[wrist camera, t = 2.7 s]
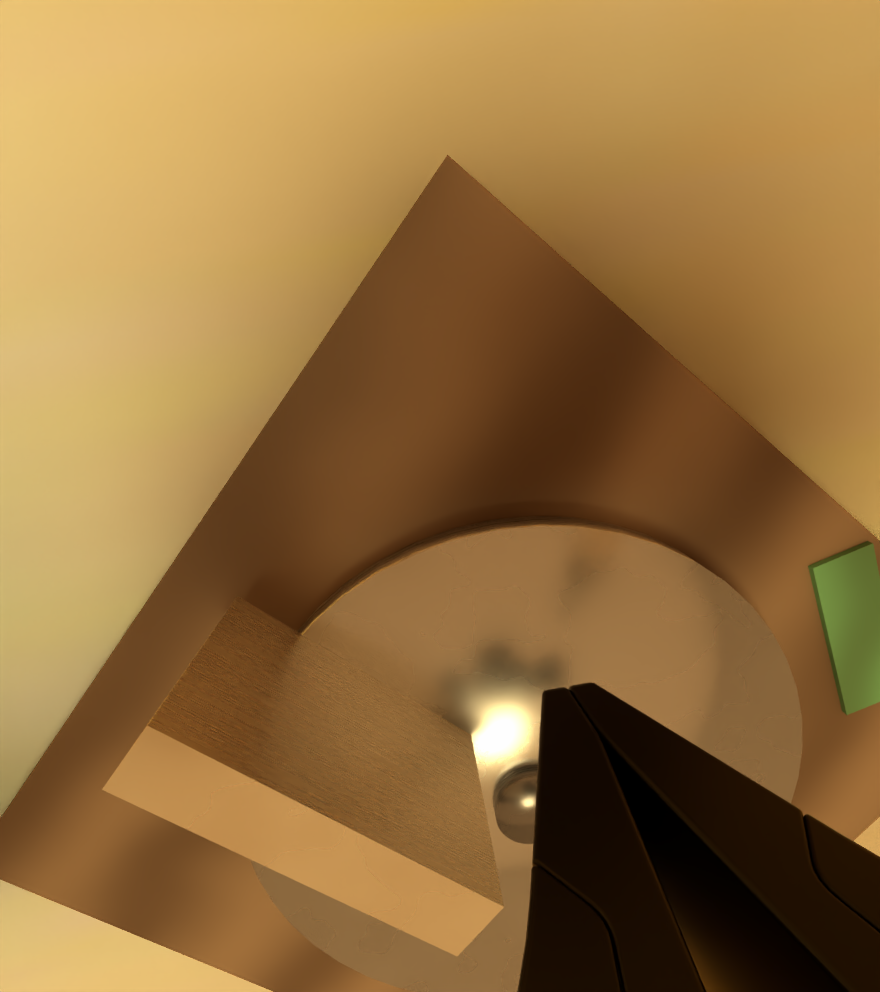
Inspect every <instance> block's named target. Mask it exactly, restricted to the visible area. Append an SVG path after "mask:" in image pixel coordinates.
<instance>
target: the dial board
mask: <svg viewBox="0 0 880 992" xmlns="http://www.w3.org/2000/svg"><path fill="white" fill-rule="evenodd" d="M527 516H549V517H574V518H580V519H586V520H592V521H598V522H604V523H610V524H613V525H617V526H620V527H623V528H626V529H630V530H633V531H636V532H639V533H643V534H646V535H648V536H650V537H652V538H654V539H656V540H658V541H661V542H663V543H665V544H667V545H669V546H671V547H673V548H675V549H677V550H679V551H680V552H682V553H683V554H685V555H686V556H688V557H690V558H691V559H693V560H694V561H696V562H697V563H699V564H700V565H702V566H703V567H705V568H706V569H708V570H709V571H711V572H712V573H713V574H715V575H716V576H718V577H719V578H721V579H722V580H724V581H725V582H727V583H728V584H729V585H730V586H731V587H732V588H733V589H734V590H735V591H736V592H737V593H739V594H740V595H741V596H742V597H743V598H744V599H745V600H746V601H747V602H748V603H749V604H751V606H752V607H753V608H754V609H755V611H756V612H757V613H758V614H759V616H760V617H761V618H762V620H763V621H764V622H765V623H766V625H767V626H768V627H769V628H770V630H771V631H772V633H773V635H774V637H775V638H776V640H777V642H778V644H779V646H780V647H781V649H782V651H783V653H784V655H785V657H786V658H787V661H788V664H789V667H790V670H791V673H792V675H793V678H794V681H795V684H796V687H797V692H798V698H799V703H800V709H801V715H802V755H801V762H800V770H799V777H798V781H797V784H796V788H795V791H794V795H793V798H792V802H791V804H792V805H794V806H796V807H797V808H799V809H800V810H801V811H802V812H803V816H804V815H805V814H809V815H811V816H812V817H814V818H816V819H817V820H819V821H821V822H822V823H824V824H825V825H827V826H829V827H830V828H832V829H834V830H835V831H837V832H838V833H840V834H842V835H843V836H845V837H847V838H849V839H850V840H852V841H854V840H855V839H856V838H857V837H858V836H859V835H860V834H861V833H862V832H863V831H865V830H866V829H867V828H868V827H869V826H870V825H871V824H872V823H873V822H874V821H875V820H876V819H877V818H879V817H880V541H879V540H878V539H877V538H876V537H875V536H874V535H873V534H871V533H870V532H869V531H868V530H867V529H866V528H865V527H864V526H862V525H861V524H860V523H859V522H858V521H857V520H856V519H855V518H853V517H852V516H851V515H850V514H849V513H848V512H847V511H846V510H845V509H843V508H842V507H841V506H840V505H839V504H838V503H837V502H836V501H834V500H833V499H832V498H831V497H830V496H829V495H828V494H827V493H825V492H824V491H823V490H822V489H821V488H820V487H819V486H818V485H817V484H815V483H814V482H813V481H812V480H811V479H810V478H809V477H808V476H806V475H805V474H804V473H803V472H802V471H801V470H800V469H799V468H797V467H796V466H795V465H794V464H793V463H792V462H791V461H790V460H789V459H787V458H786V457H785V456H784V455H783V454H782V453H781V452H780V451H778V450H777V449H776V448H775V447H774V446H773V445H772V444H771V443H769V442H768V441H767V440H766V439H765V438H764V437H763V436H762V435H761V434H759V433H758V432H757V431H756V430H755V429H754V428H753V427H752V426H750V425H749V424H748V423H747V422H746V421H745V420H744V419H743V418H741V417H740V416H739V415H738V414H737V413H736V412H735V411H734V410H733V409H731V408H730V407H729V406H728V405H727V404H726V403H725V402H724V401H722V400H721V399H720V398H719V397H718V396H717V395H716V394H715V393H713V392H712V391H711V390H710V389H709V388H708V387H707V386H706V385H705V384H703V383H702V382H701V381H700V380H699V379H698V378H697V377H696V376H694V375H693V374H692V373H691V372H690V371H689V370H688V369H687V368H685V367H684V366H683V365H682V364H681V363H680V362H679V361H678V360H677V359H675V358H674V357H673V356H672V355H671V354H670V353H669V352H668V351H666V350H665V349H664V348H663V347H662V346H661V345H660V344H659V343H657V342H656V341H655V340H654V339H653V338H652V337H651V336H650V335H649V334H647V333H646V332H645V331H644V330H643V329H642V328H641V327H640V326H638V325H637V324H636V323H635V322H634V321H633V320H632V319H631V318H629V317H628V316H627V315H626V314H625V313H624V312H623V311H622V310H621V309H619V308H618V307H617V306H616V305H615V304H614V303H613V302H612V301H610V300H609V299H608V298H607V297H606V296H605V295H604V294H603V293H601V292H600V291H599V290H598V289H597V288H596V287H595V286H594V285H593V284H591V283H590V282H589V281H588V280H587V279H586V278H585V277H584V276H582V275H581V274H580V273H579V272H578V271H577V270H576V269H575V268H574V267H572V266H571V265H570V264H569V263H568V262H567V261H566V260H565V259H563V258H562V257H561V256H560V255H559V254H558V253H557V252H556V251H554V250H553V249H552V248H551V247H550V246H549V245H548V244H547V243H546V242H544V241H543V240H542V239H541V238H540V237H539V236H538V235H537V234H535V233H534V232H533V231H532V230H531V229H530V228H529V227H528V226H526V225H525V224H524V223H523V222H522V221H521V220H520V219H519V218H518V217H516V216H515V215H514V214H513V213H512V212H511V211H510V210H509V209H507V208H506V207H505V206H504V205H503V204H502V203H501V202H500V201H498V200H497V199H496V198H495V197H494V196H493V195H492V194H491V193H490V192H488V191H487V190H486V189H485V188H484V187H483V186H482V185H481V184H479V183H478V182H477V181H476V180H475V179H474V178H473V177H472V176H470V175H469V174H468V173H467V172H466V171H465V170H464V169H463V168H462V167H460V166H459V165H458V164H457V163H456V162H455V161H454V160H453V159H451V158H450V157H449V156H448V155H447V157H446V158H445V160H444V161H443V163H442V164H441V166H440V167H439V169H438V170H437V172H436V173H435V174H434V176H433V177H432V179H431V180H430V182H429V183H428V185H427V186H426V188H425V189H424V191H423V192H422V194H421V195H420V197H419V198H418V200H417V201H416V203H415V204H414V206H413V207H412V209H411V210H410V212H409V213H408V215H407V216H406V218H405V219H404V220H403V222H402V223H401V225H400V226H399V228H398V229H397V231H396V232H395V234H394V235H393V237H392V238H391V240H390V241H389V243H388V244H387V246H386V247H385V249H384V250H383V252H382V253H381V255H380V256H379V258H378V259H377V261H376V262H375V264H374V265H373V266H372V268H371V269H370V271H369V272H368V274H367V275H366V277H365V278H364V280H363V281H362V283H361V284H360V286H359V287H358V289H357V290H356V292H355V293H354V295H353V296H352V298H351V299H350V301H349V302H348V304H347V305H346V307H345V308H344V310H343V311H342V313H341V314H340V315H339V317H338V318H337V320H336V321H335V323H334V324H333V326H332V327H331V329H330V330H329V332H328V333H327V335H326V336H325V338H324V339H323V341H322V342H321V344H320V345H319V347H318V348H317V350H316V351H315V353H314V354H313V356H312V357H311V359H310V360H309V361H308V363H307V364H306V366H305V367H304V369H303V370H302V372H301V373H300V375H299V376H298V378H297V379H296V381H295V382H294V384H293V385H292V387H291V388H290V390H289V391H288V393H287V394H286V396H285V397H284V399H283V400H282V402H281V403H280V405H279V406H278V407H277V409H276V410H275V412H274V413H273V415H272V416H271V418H270V419H269V421H268V422H267V424H266V425H265V427H264V428H263V430H262V431H261V433H260V434H259V436H258V437H257V439H256V440H255V442H254V443H253V445H252V446H251V448H250V449H249V451H248V452H247V453H246V455H245V456H244V458H243V459H242V461H241V462H240V464H239V465H238V467H237V468H236V470H235V471H234V473H233V474H232V476H231V477H230V479H229V480H228V482H227V483H226V485H225V486H224V488H223V489H222V491H221V492H220V494H219V495H218V497H217V498H216V500H215V501H214V502H213V504H212V505H211V507H210V508H209V510H208V511H207V513H206V514H205V516H204V517H203V519H202V520H201V522H200V523H199V525H198V526H197V528H196V529H195V531H194V532H193V534H192V535H191V537H190V538H189V540H188V541H187V543H186V544H185V546H184V547H183V548H182V550H181V551H180V553H179V554H178V556H177V557H176V559H175V560H174V562H173V563H172V565H171V566H170V568H169V569H168V571H167V572H166V574H165V575H164V577H163V578H162V580H161V581H160V583H159V584H158V586H157V587H156V589H155V590H154V592H153V593H152V594H151V596H150V597H149V599H148V600H147V602H146V603H145V605H144V606H143V608H142V609H141V611H140V612H139V614H138V615H137V617H136V618H135V620H134V621H133V623H132V624H131V626H130V627H129V629H128V630H127V632H126V633H125V635H124V636H123V638H122V639H121V641H120V642H119V643H118V645H117V646H116V648H115V649H114V651H113V652H112V654H111V655H110V657H109V658H108V660H107V661H106V663H105V664H104V666H103V667H102V669H101V670H100V672H99V673H98V675H97V676H96V678H95V679H94V681H93V682H92V684H91V685H90V687H89V688H88V689H87V691H86V692H85V694H84V695H83V697H82V698H81V700H80V701H79V703H78V704H77V706H76V707H75V709H74V710H73V712H72V713H71V715H70V716H69V718H68V719H67V721H66V722H65V724H64V725H63V727H62V728H61V730H60V731H59V733H58V734H57V735H56V737H55V738H54V740H53V741H52V743H51V744H50V746H49V747H48V749H47V750H46V752H45V753H44V755H43V756H42V758H41V759H40V761H39V762H38V764H37V765H36V767H35V768H34V770H33V771H32V773H31V774H30V776H29V777H28V779H27V780H26V782H25V783H24V784H23V786H22V787H21V789H20V790H19V792H18V793H17V795H16V796H15V798H14V799H13V801H12V802H11V804H10V805H9V807H8V808H7V810H6V811H5V813H4V814H3V816H2V817H1V819H0V879H1V880H3V881H6V882H8V883H10V884H13V885H15V886H18V887H20V888H23V889H25V890H27V891H30V892H32V893H35V894H37V895H40V896H42V897H45V898H47V899H49V900H52V901H54V902H57V903H59V904H62V905H64V906H66V907H69V908H71V909H74V910H76V911H79V912H81V913H84V914H86V915H88V916H91V917H93V918H96V919H98V920H101V921H103V922H105V923H108V924H110V925H113V926H115V927H118V928H120V929H122V930H125V931H127V932H130V933H132V934H135V935H137V936H140V937H142V938H144V939H147V940H149V941H152V942H154V943H157V944H159V945H161V946H164V947H166V948H169V949H171V950H174V951H176V952H179V953H181V954H183V955H186V956H188V957H191V958H193V959H196V960H198V961H200V962H203V963H205V964H208V965H210V966H213V967H215V968H217V969H220V970H222V971H225V972H227V973H230V974H232V975H235V976H237V977H239V978H242V979H244V980H247V981H249V982H252V983H254V984H256V985H259V986H261V987H264V988H266V989H269V990H271V991H273V992H414V991H410V990H406V989H402V988H398V987H394V986H392V985H389V984H386V983H383V982H381V981H378V980H375V979H373V978H370V977H367V976H365V975H363V974H361V973H359V972H357V971H355V970H353V969H351V968H349V967H348V966H346V965H344V964H342V963H340V962H338V961H337V960H335V959H334V958H332V957H331V956H329V955H328V954H326V953H325V952H323V951H322V950H320V949H319V948H318V947H316V946H315V945H313V944H312V943H311V942H310V941H309V940H308V939H307V938H306V937H305V936H303V935H302V934H301V933H300V932H299V931H298V930H297V929H296V928H294V927H293V926H292V925H291V924H290V922H289V921H288V920H287V919H286V918H285V916H284V915H283V914H282V913H281V912H280V910H279V909H278V908H277V907H276V906H275V904H274V903H273V902H272V900H271V899H270V897H269V895H268V894H267V892H266V890H265V889H264V887H263V885H262V884H261V882H260V880H259V879H258V877H257V875H256V873H255V870H254V868H253V865H252V863H251V860H250V859H248V858H246V857H244V856H242V855H240V854H238V853H236V852H234V851H231V850H229V849H227V848H225V847H223V846H221V845H219V844H216V843H214V842H212V841H210V840H208V839H206V838H204V837H202V836H199V835H197V834H195V833H193V832H191V831H189V830H187V829H185V828H182V827H180V826H178V825H176V824H174V823H172V822H170V821H168V820H165V819H163V818H161V817H159V816H157V815H155V814H153V813H150V812H148V811H146V810H144V809H142V808H140V807H138V806H136V805H133V804H131V803H129V802H127V801H125V800H123V799H121V798H119V797H116V796H114V795H112V794H110V793H108V792H106V791H104V790H102V789H103V787H104V786H105V784H106V783H107V782H108V780H109V779H110V777H111V776H112V774H113V773H114V772H115V770H116V769H117V767H118V766H119V764H120V763H121V762H122V760H123V759H124V757H125V756H126V754H127V753H128V751H129V750H130V749H131V747H132V746H133V744H134V743H135V741H136V740H137V739H138V737H139V736H140V734H141V733H142V731H143V730H144V729H145V727H146V726H147V724H148V723H149V721H150V720H151V718H152V717H153V716H154V714H155V713H156V711H157V710H158V708H159V707H160V706H161V704H162V703H163V701H164V700H165V698H166V697H167V696H168V694H169V693H170V691H171V690H172V688H173V687H174V686H175V684H176V683H177V681H178V680H179V678H180V677H181V675H182V674H183V673H184V671H185V670H186V668H187V667H188V665H189V664H190V663H191V661H192V660H193V658H194V657H195V655H196V654H197V653H198V651H199V650H200V648H201V647H202V645H203V644H204V642H205V641H206V640H207V638H208V637H209V635H210V634H211V633H212V631H213V630H214V628H215V627H216V626H217V624H218V623H219V621H220V620H221V619H222V617H223V616H224V614H225V613H226V611H227V610H228V609H229V607H230V606H231V604H232V603H233V602H234V600H235V599H236V597H237V596H238V597H239V598H241V599H243V600H244V601H246V602H248V603H249V604H251V605H253V606H254V607H256V608H258V609H259V610H261V611H263V612H265V613H266V614H268V615H270V616H271V617H273V618H275V619H276V620H278V621H280V622H281V623H283V624H285V625H286V626H288V627H290V628H292V629H293V630H295V631H298V630H299V628H300V627H301V626H302V625H303V624H304V623H305V622H306V620H307V619H308V618H309V617H310V616H311V615H312V613H313V612H314V611H315V610H316V609H317V608H318V607H319V606H320V605H321V604H322V603H323V602H325V601H326V600H327V599H328V598H329V597H330V596H331V595H332V594H334V593H335V592H336V591H337V590H338V589H339V588H340V587H342V586H343V585H344V584H345V583H346V582H348V581H349V580H351V579H352V578H354V577H355V576H357V575H358V574H359V573H361V572H362V571H364V570H365V569H367V568H368V567H370V566H371V565H373V564H374V563H376V562H377V561H379V560H381V559H383V558H385V557H387V556H389V555H391V554H393V553H395V552H397V551H399V550H400V549H402V548H404V547H406V546H408V545H410V544H412V543H414V542H417V541H420V540H423V539H425V538H428V537H431V536H434V535H437V534H439V533H442V532H445V531H448V530H451V529H454V528H458V527H463V526H467V525H472V524H476V523H481V522H485V521H489V520H496V519H506V518H517V517H527Z"/></svg>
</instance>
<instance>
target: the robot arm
mask: <svg viewBox="0 0 880 992" xmlns="http://www.w3.org/2000/svg"><path fill="white" fill-rule="evenodd" d="M517 992H880V857H879V856H877V855H876V854H874V853H872V852H871V851H869V850H867V849H866V848H864V847H862V846H860V845H859V844H857V843H855V842H854V841H852V840H850V839H849V838H847V837H845V836H843V835H842V834H840V833H838V832H837V831H835V830H834V829H832V828H830V827H829V826H827V825H825V824H824V823H822V822H821V821H819V820H817V819H816V818H814V817H812V816H811V815H809V814H805V815H804V816H803V812H802V811H801V810H800V809H799V808H797V807H796V806H794V805H792V804H791V803H789V802H788V801H786V800H784V799H783V798H781V797H779V796H778V795H776V794H775V793H773V792H771V791H770V790H768V789H766V788H765V787H763V786H761V785H760V784H758V783H757V782H755V781H753V780H752V779H750V778H748V777H747V776H745V775H744V774H742V773H740V772H739V771H737V770H735V769H734V768H732V767H731V766H729V765H727V764H726V763H724V762H722V761H721V760H719V759H718V758H716V757H714V756H713V755H711V754H709V753H708V752H706V751H704V750H703V749H701V748H700V747H698V746H696V745H695V744H693V743H691V742H690V741H688V740H687V739H685V738H683V737H682V736H680V735H678V734H677V733H675V732H674V731H672V730H670V729H669V728H667V727H665V726H664V725H662V724H660V723H659V722H657V721H656V720H654V719H652V718H651V717H649V716H647V715H646V714H644V713H643V712H641V711H639V710H638V709H636V708H634V707H633V706H631V705H630V704H628V703H626V702H625V701H623V700H621V699H620V698H618V697H616V696H615V695H613V694H612V693H610V692H608V691H607V690H605V689H603V688H602V687H600V686H599V685H597V684H595V683H592V682H588V683H582V684H577V685H571V686H570V687H569V688H566V687H559V688H554V689H548V690H544V691H543V693H542V702H541V719H540V736H539V753H538V770H537V787H536V804H535V821H534V838H533V855H532V869H531V883H530V900H529V910H528V920H527V931H526V941H525V947H524V953H523V959H522V965H521V971H520V978H519V984H518V990H517Z"/></svg>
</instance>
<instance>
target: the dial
mask: <svg viewBox="0 0 880 992" xmlns="http://www.w3.org/2000/svg"><path fill="white" fill-rule="evenodd" d="M588 682H592V683H595V684H597V685H599V686H600V687H602V688H603V689H605V690H607V691H608V692H610V693H612V694H613V695H615V696H616V697H618V698H620V699H621V700H623V701H625V702H626V703H628V704H630V705H631V706H633V707H634V708H636V709H638V710H639V711H641V712H643V713H644V714H646V715H647V716H649V717H651V718H652V719H654V720H656V721H657V722H659V723H660V724H662V725H664V726H665V727H667V728H669V729H670V730H672V731H674V732H675V733H677V734H678V735H680V736H682V737H683V738H685V739H687V740H688V741H690V742H691V743H693V744H695V745H696V746H698V747H700V748H701V749H703V750H704V751H706V752H708V753H709V754H711V755H713V756H714V757H716V758H718V759H719V760H721V761H722V762H724V763H726V764H727V765H729V766H731V767H732V768H734V769H735V770H737V771H739V772H740V773H742V774H744V775H745V776H747V777H748V778H750V779H752V780H753V781H755V782H757V783H758V784H760V785H761V786H763V787H765V788H766V789H768V790H770V791H771V792H773V793H775V794H776V795H778V796H779V797H781V798H783V799H784V800H786V801H788V802H789V803H791V802H792V798H793V795H794V791H795V788H796V784H797V781H798V777H799V770H800V762H801V755H802V715H801V709H800V703H799V698H798V692H797V687H796V684H795V681H794V678H793V675H792V673H791V670H790V667H789V664H788V661H787V658H786V657H785V655H784V653H783V651H782V649H781V647H780V646H779V644H778V642H777V640H776V638H775V637H774V635H773V633H772V631H771V630H770V628H769V627H768V626H767V625H766V623H765V622H764V621H763V620H762V618H761V617H760V616H759V614H758V613H757V612H756V611H755V609H754V608H753V607H752V606H751V604H749V603H748V602H747V601H746V600H745V599H744V598H743V597H742V596H741V595H740V594H739V593H737V592H736V591H735V590H734V589H733V588H732V587H731V586H730V585H729V584H728V583H727V582H725V581H724V580H722V579H721V578H719V577H718V576H716V575H715V574H713V573H712V572H711V571H709V570H708V569H706V568H705V567H703V566H702V565H700V564H699V563H697V562H696V561H694V560H693V559H691V558H690V557H688V556H686V555H685V554H683V553H682V552H680V551H679V550H677V549H675V548H673V547H671V546H669V545H667V544H665V543H663V542H661V541H658V540H656V539H654V538H652V537H650V536H648V535H646V534H643V533H639V532H636V531H633V530H630V529H626V528H623V527H620V526H617V525H613V524H610V523H604V522H598V521H592V520H586V519H580V518H574V517H549V516H527V517H517V518H506V519H496V520H489V521H485V522H481V523H476V524H472V525H467V526H463V527H458V528H454V529H451V530H448V531H445V532H442V533H439V534H437V535H434V536H431V537H428V538H425V539H423V540H420V541H417V542H414V543H412V544H410V545H408V546H406V547H404V548H402V549H400V550H399V551H397V552H395V553H393V554H391V555H389V556H387V557H385V558H383V559H381V560H379V561H377V562H376V563H374V564H373V565H371V566H370V567H368V568H367V569H365V570H364V571H362V572H361V573H359V574H358V575H357V576H355V577H354V578H352V579H351V580H349V581H348V582H346V583H345V584H344V585H343V586H342V587H340V588H339V589H338V590H337V591H336V592H335V593H334V594H332V595H331V596H330V597H329V598H328V599H327V600H326V601H325V602H323V603H322V604H321V605H320V606H319V607H318V608H317V609H316V610H315V611H314V612H313V613H312V615H311V616H310V617H309V618H308V619H307V620H306V622H305V623H304V624H303V625H302V626H301V627H300V628H299V630H298V631H295V630H293V629H292V628H290V627H288V626H286V625H285V624H283V623H281V622H280V621H278V620H276V619H275V618H273V617H271V616H270V615H268V614H266V613H265V612H263V611H261V610H259V609H258V608H256V607H254V606H253V605H251V604H249V603H248V602H246V601H244V600H243V599H241V598H239V597H238V596H237V597H236V599H235V600H234V602H233V603H232V604H231V606H230V607H229V609H228V610H227V611H226V613H225V614H224V616H223V617H222V619H221V620H220V621H219V623H218V624H217V626H216V627H215V628H214V630H213V631H212V633H211V634H210V635H209V637H208V638H207V640H206V641H205V642H204V644H203V645H202V647H201V648H200V650H199V651H198V653H197V654H196V655H195V657H194V658H193V660H192V661H191V663H190V664H189V665H188V667H187V668H186V670H185V671H184V673H183V674H182V675H181V677H180V678H179V680H178V681H177V683H176V684H175V686H174V687H173V688H172V690H171V691H170V693H169V694H168V696H167V697H166V698H165V700H164V701H163V703H162V704H161V706H160V707H159V708H158V710H157V711H156V713H155V714H154V716H153V717H152V718H151V720H150V721H149V723H148V724H147V726H146V727H145V729H144V730H143V731H142V733H141V734H140V736H139V737H138V739H137V740H136V741H135V743H134V744H133V746H132V747H131V749H130V750H129V751H128V753H127V754H126V756H125V757H124V759H123V760H122V762H121V763H120V764H119V766H118V767H117V769H116V770H115V772H114V773H113V774H112V776H111V777H110V779H109V780H108V782H107V783H106V784H105V786H104V787H103V789H102V790H104V791H106V792H108V793H110V794H112V795H114V796H116V797H119V798H121V799H123V800H125V801H127V802H129V803H131V804H133V805H136V806H138V807H140V808H142V809H144V810H146V811H148V812H150V813H153V814H155V815H157V816H159V817H161V818H163V819H165V820H168V821H170V822H172V823H174V824H176V825H178V826H180V827H182V828H185V829H187V830H189V831H191V832H193V833H195V834H197V835H199V836H202V837H204V838H206V839H208V840H210V841H212V842H214V843H216V844H219V845H221V846H223V847H225V848H227V849H229V850H231V851H234V852H236V853H238V854H240V855H242V856H244V857H246V858H248V859H250V860H251V863H252V865H253V868H254V870H255V873H256V875H257V877H258V879H259V880H260V882H261V884H262V885H263V887H264V889H265V890H266V892H267V894H268V895H269V897H270V899H271V900H272V902H273V903H274V904H275V906H276V907H277V908H278V909H279V910H280V912H281V913H282V914H283V915H284V916H285V918H286V919H287V920H288V921H289V922H290V924H291V925H292V926H293V927H294V928H296V929H297V930H298V931H299V932H300V933H301V934H302V935H303V936H305V937H306V938H307V939H308V940H309V941H310V942H311V943H312V944H313V945H315V946H316V947H318V948H319V949H320V950H322V951H323V952H325V953H326V954H328V955H329V956H331V957H332V958H334V959H335V960H337V961H338V962H340V963H342V964H344V965H346V966H348V967H349V968H351V969H353V970H355V971H357V972H359V973H361V974H363V975H365V976H367V977H370V978H373V979H375V980H378V981H381V982H383V983H386V984H389V985H392V986H394V987H398V988H402V989H406V990H410V991H414V992H517V990H518V984H519V978H520V971H521V965H522V959H523V953H524V947H525V941H526V931H527V920H528V910H529V900H530V883H531V869H532V855H533V838H534V821H535V804H536V787H537V770H538V753H539V736H540V719H541V702H542V693H543V691H544V690H548V689H554V688H559V687H566V688H569V687H570V686H571V685H577V684H582V683H588Z"/></svg>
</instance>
